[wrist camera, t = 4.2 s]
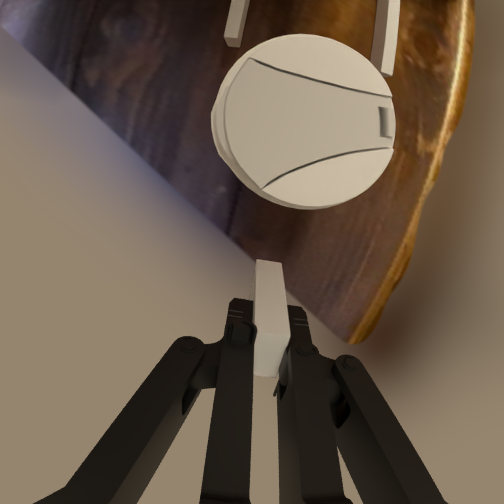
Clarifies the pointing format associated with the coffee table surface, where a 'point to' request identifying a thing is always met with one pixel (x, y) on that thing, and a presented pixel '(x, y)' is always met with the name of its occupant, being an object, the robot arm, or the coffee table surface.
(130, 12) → the coffee table surface
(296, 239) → the coffee table surface
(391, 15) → the grey box with runners
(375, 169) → the paper cup
